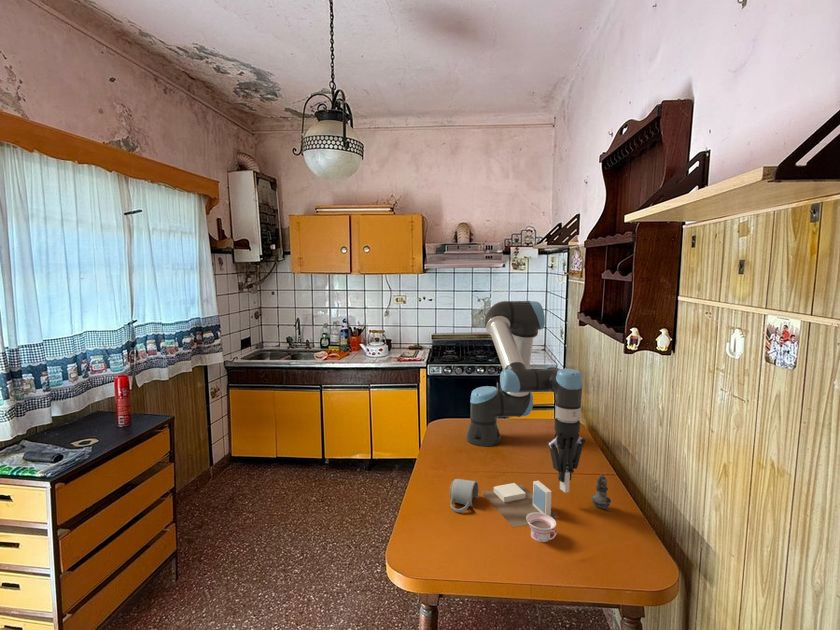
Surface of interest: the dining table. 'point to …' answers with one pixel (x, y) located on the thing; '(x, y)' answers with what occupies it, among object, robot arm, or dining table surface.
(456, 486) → the ceramic mug
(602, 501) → the grey stone finial
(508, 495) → the tile
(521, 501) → the walnut board
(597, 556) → the dining table surface
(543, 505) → the tile
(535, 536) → the teacup
